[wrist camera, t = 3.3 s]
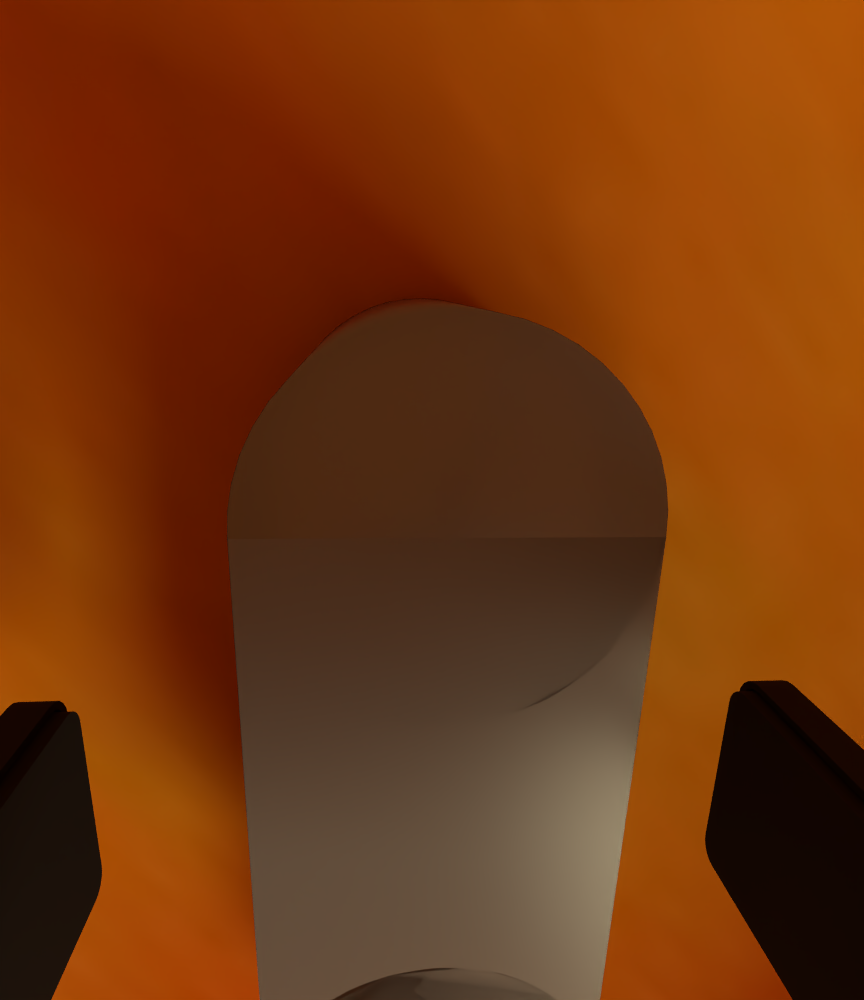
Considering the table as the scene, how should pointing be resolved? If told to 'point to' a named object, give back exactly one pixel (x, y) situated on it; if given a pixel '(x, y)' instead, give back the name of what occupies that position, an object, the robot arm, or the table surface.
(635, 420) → the dongle
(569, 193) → the table surface
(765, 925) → the robot arm
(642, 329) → the table surface
